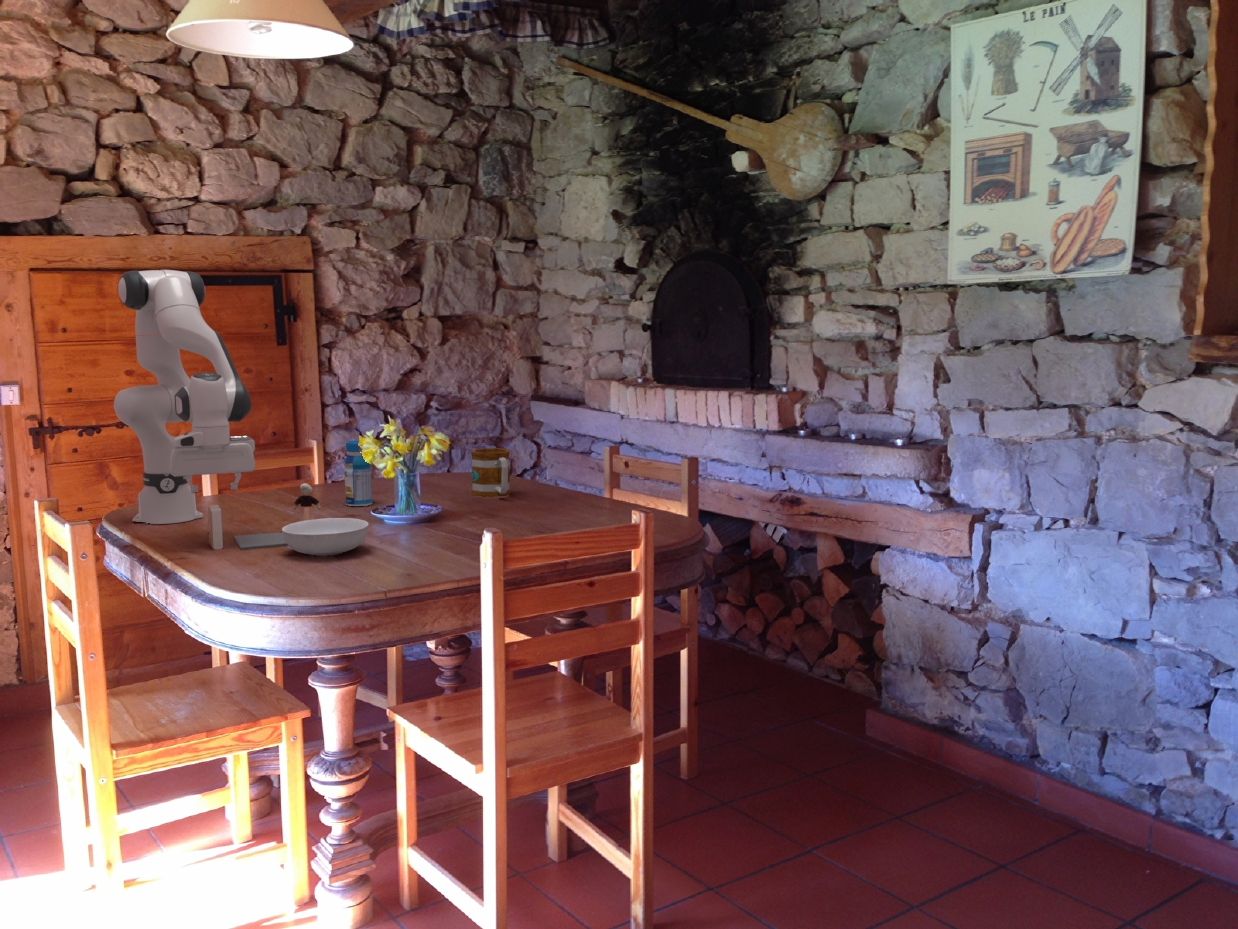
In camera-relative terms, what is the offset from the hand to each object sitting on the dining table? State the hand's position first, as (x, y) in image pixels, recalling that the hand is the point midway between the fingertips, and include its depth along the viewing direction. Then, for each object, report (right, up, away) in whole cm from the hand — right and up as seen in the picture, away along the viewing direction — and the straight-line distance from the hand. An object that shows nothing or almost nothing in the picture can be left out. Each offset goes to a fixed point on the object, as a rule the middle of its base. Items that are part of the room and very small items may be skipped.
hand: (214, 491), depth 264 cm
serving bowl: (+30, -15, -4) cm, 34 cm away
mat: (+11, -13, +8) cm, 19 cm away
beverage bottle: (+22, -6, +61) cm, 65 cm away
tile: (0, -14, +2) cm, 14 cm away
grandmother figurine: (+16, -11, +25) cm, 32 cm away
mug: (+62, -4, +75) cm, 98 cm away
